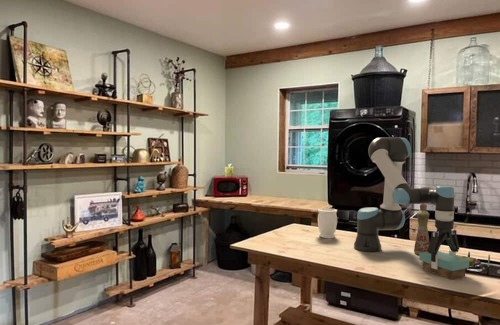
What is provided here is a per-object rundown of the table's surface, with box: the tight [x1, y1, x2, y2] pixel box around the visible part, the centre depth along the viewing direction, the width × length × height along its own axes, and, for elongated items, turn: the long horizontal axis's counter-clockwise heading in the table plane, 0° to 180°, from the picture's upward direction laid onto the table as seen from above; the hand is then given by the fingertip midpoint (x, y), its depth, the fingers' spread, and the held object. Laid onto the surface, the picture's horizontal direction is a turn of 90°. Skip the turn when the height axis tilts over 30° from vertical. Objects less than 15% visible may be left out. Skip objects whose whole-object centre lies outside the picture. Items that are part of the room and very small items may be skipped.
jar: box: [317, 207, 338, 239], centre depth 238 cm, size 13×12×18 cm
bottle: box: [413, 204, 430, 255], centre depth 198 cm, size 9×9×28 cm
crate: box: [422, 261, 466, 281], centre depth 166 cm, size 15×9×7 cm, turn 25°
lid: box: [418, 250, 470, 271], centre depth 166 cm, size 17×11×4 cm, turn 25°
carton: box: [446, 252, 477, 266], centre depth 182 cm, size 8×16×4 cm, turn 48°
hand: (443, 266), depth 166 cm, fingers closed on lid, 11 cm apart
